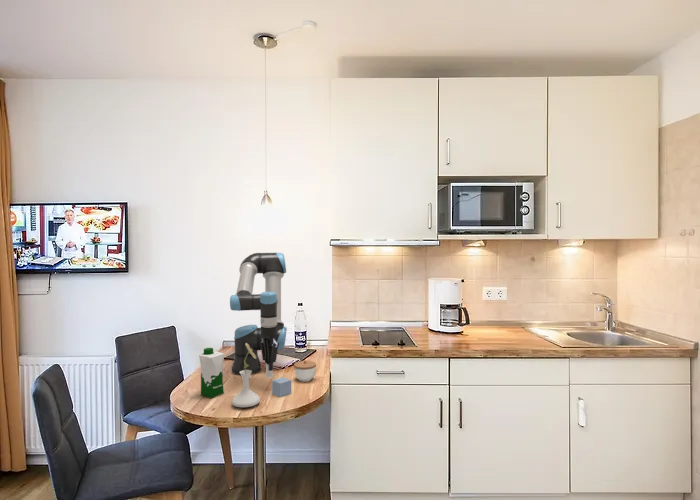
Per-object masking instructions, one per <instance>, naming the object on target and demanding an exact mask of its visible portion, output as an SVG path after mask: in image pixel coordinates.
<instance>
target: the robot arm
mask: <svg viewBox="0 0 700 500" xmlns="http://www.w3.org/2000/svg"><path fill="white" fill-rule="evenodd" d="M239 273H240V274H239V280H238V282H237V283H238V284H237V288H236V292H235V293H236V294H233V295H231V296H230V298H229V306H230V310H231V311H235V312H236V311H237V312H238V311H239V312H240V311H243V312H244V311H260V317H259V318H260V320H259V322H260V327H259V326H258V325H257V324H247V325H243V326H239V327H237V328H236V329H234V330H235V331H234V337H233V339H234V358H233V362H232V365H231V369H230V370H231V374H233V375H239V376H242V375H241V374H240V373H239V372H240V371H242V370H245V368H244V367H245V366H246V365H245V366H244V361H245V362H246V364H247V365H249V366H248V367H246V370H251V371H252V372H251V374H250V375H253V374H257V373H259V372H260V371H262V364H261V360H260V358H259V355H258V354H259V353H258V351H260V352H261V359H262V361H264V363H265V378H267V379H270V378H273V376H274V374H273V373H274V363H277V356H278V350H283V349H284V348H285V344H286V339H287V329H288V327H287V326H285V323H284V322H283V321H282V279H283V277H284V275H285V274H286V273H287V266H286V258H285V254H284V253H282V252H255V253H252V254H249V255H247V257H246V258H244V259H243V261H242V262H241V263H240V266H239ZM257 274H262V277H263V278H264V281H265V287H264V289H265V290H264V291H263V292H261V293H258V294H255V293H253V291H254V284H255V276H256V275H257ZM246 343H247V344H248V345H249V347H250V349H252V352H253V353H254V354H255V355H256V359H254V358H253V356H252V355H251V354H250V353H248V349H247V347H246V345H245V344H246ZM247 353H248V355H247ZM246 355H247V357H246ZM245 358H246V360H245Z"/></svg>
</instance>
